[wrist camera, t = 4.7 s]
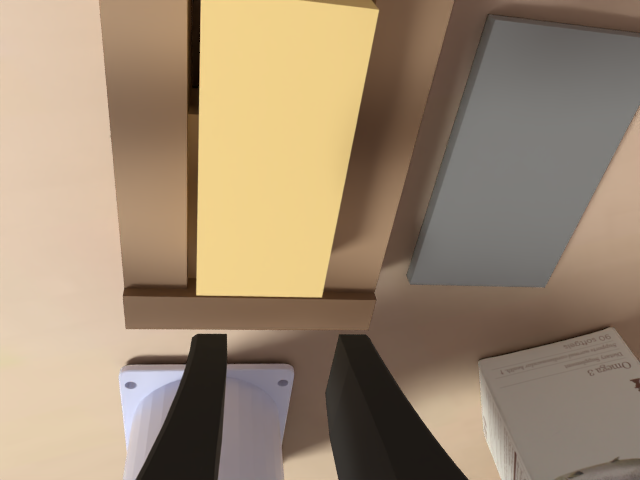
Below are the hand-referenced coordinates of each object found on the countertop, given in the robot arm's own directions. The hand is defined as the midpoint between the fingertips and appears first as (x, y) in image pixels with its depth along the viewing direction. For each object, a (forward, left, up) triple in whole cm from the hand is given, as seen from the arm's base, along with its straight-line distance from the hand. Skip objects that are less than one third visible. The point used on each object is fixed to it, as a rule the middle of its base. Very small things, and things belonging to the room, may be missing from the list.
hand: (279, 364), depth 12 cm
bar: (+2, 0, -7) cm, 8 cm away
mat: (0, -10, -9) cm, 14 cm away
